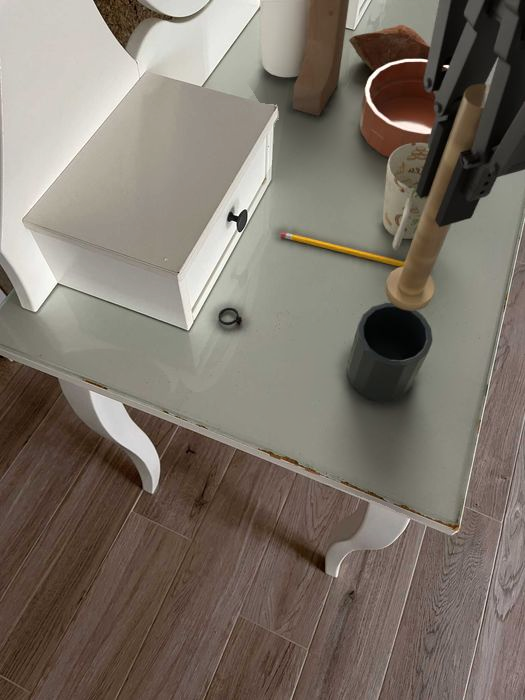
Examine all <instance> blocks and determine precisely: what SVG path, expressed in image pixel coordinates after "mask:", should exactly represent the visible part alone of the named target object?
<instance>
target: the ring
mask: <svg viewBox="0 0 525 700" xmlns="http://www.w3.org/2000/svg"><path fill="white" fill-rule="evenodd" d="M228 311H231V312H233V313H235V315H236V316H235V319H233V320H231V321H224V320H222V318H221V317H222V315H223V314H224V313H225V312H228ZM217 317H218V321H219V322H220V323H221V324H222V325H224V326H231V325H233V324H235V323H236V324H237V325H238V326H240V325H241V324H242V322H243V320H242V316H240V315H239V312H238V310H237V309H235V308H234V307H225V308H223V309H221V310H220V311H219V313H218V316H217Z"/></svg>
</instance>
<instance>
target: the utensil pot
mask: <svg viewBox="0 0 525 700" xmlns="http://www.w3.org/2000/svg"><path fill="white" fill-rule="evenodd" d="M432 343H433V333H432V327H431V325H430V324H429V322H428V321H427V319H426V317H425V316H424V315H423V314H422V313H420V312H419V310H415V311H408V310H403V309H400V308H398V307H396V306H395V305H393V304H392V303H391V302H390V301H389V302H388V301H387V302H382V303H379V304H376V305H372V306H371V307H370V308H369V309H368V310H366V311H365V312H364V313H362V315H361V317H360V320H359V322H358V324H357V327H356V331H355V335H354V338H353V342H352V345H351V349H350V351H349V352H350V353H349V355H348V360H347V364H346V365H347V366H346V376H347V379H348V381H349V384H350V385H351V387H352V388H353V390H354V391H356V393H358V394H359V395H360V396H361V397H363V398H365V399H367V400H369V401H372V402H375V403H389V402H393V401H394V402H395V401H396V400H398V399H401V398H402V397H403V396H404V395H405V394H407V392H408V391H409V390H410V388H411V387H412V385H413V383H414V381H415V379H416V377H417V376H418V373H419V371H420V369H421V367H422V366H423V363H424V361H425V359H426V357H427V355H428V353H429V351H430V349H431V346H432Z"/></svg>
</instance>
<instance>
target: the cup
mask: <svg viewBox="0 0 525 700" xmlns="http://www.w3.org/2000/svg"><path fill="white" fill-rule="evenodd" d="M259 5H260V6H259V7H260V8H259V25H260V27H259V28H260V29H259V31H260V33H259V34H260V52H261V65H262V67H263V68H264V69H265V71H266V72H268V73H269V74H271V75H272V76H276V77H280V78H294V77H298V76H299V74H300V73H301V69H302V66H303V62H304V59H305V54H306V47H307V39H308V25H309V12H310V0H260V4H259Z"/></svg>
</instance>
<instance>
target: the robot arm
mask: <svg viewBox="0 0 525 700" xmlns="http://www.w3.org/2000/svg"><path fill="white" fill-rule="evenodd" d="M432 30H433V31H432V36H431V41H430V45H429V46H430V50H429V56H428V61H427V66H426V71H425V76H424V88H425V90H426V91H427V92H428V93H429V92H434V95H435V97H436V99H435V102H434V112H435V114H436V117H435V120H434V124H433V127H432V130H431V134H430V136H429V140H428V148H429V151H428V155H427V158H426V161H425V164H424V167H423V170H422V173H421V176H420V179H419V183H418V186H417V189H416V193H417V194H418V196H419V197H420V198H423V197H427V196H428V195H429V192H430V189H431V186H432V184H433V181H434V178H435V175H436V172H437V169H438V166H439V164H440V161H441V158H442V155H443V152H444V149H445V146H446V144H447V141H448V138H449V135H450V132H451V129H452V126H453V124H454V121H455V118H456V115H457V112H458V109H459V106H460V104H461V101H462V98H463V95H464V92H465V90H466V89H467V88H468V87H469V86H471V85H474V84H486V82H487V81H488V79H489V77H490V75H491V73H492V70H493V68H494V67H495V69H494V72H493V75H492V77H491V78H492V79H491V83H490V84H489V85H490V89H489V92H488V95H487V99H486V102H485V106H484V109H483V112H482V116H481V119H480V123H479V126H478V129H477V133H476V136H475V140H474V143H473V146H472V149H470V150H466V151H463V152H460V155H459V158H458V160H457V163H456V165H455V168H454V171H453V173H452V176H451V179H450V181H449V184H448V186H447V189H446V192H445V194H444V197H443V200H442V202H441V205H440V207H439V210H438V213H437V215H436V218H435V221H436V223H437V224H438V226H439V227H442V226H446V225H449V224H451V225H452V224H456V223H460V222H463V221H467V220H470V219H472V218H473V215H474V213H475V211H476V209H477V206H478V204H479V202H480V200H481V199H482V198H485V197H488V195H490V193H491V191H492V189H493V187H494V185H495V183H496V181H497V178H500V177H504V176H506V175H508V176H509V175H510V174H515V173H518V172H522V171H525V0H438V6H437V10H436V16H435V21H434V26H433V29H432ZM449 64H450V65H449ZM445 65H448V66H449V67H448V69H445V70H442V69H443V66H445Z"/></svg>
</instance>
